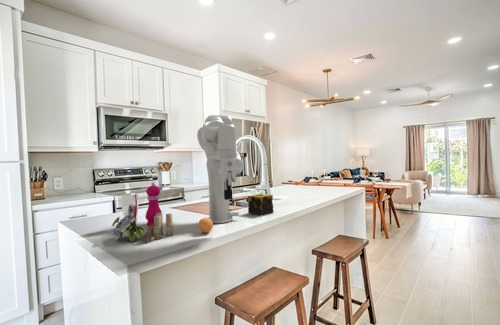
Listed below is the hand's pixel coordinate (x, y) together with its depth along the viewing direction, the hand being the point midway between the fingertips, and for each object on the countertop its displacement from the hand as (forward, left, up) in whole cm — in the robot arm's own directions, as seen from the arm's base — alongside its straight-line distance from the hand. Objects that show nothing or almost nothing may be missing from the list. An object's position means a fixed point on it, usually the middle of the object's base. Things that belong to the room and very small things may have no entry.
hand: (228, 199), depth 108 cm
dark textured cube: (-22, -31, -14) cm, 41 cm away
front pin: (+24, -1, -13) cm, 27 cm away
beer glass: (+42, -20, -13) cm, 48 cm away
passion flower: (+38, -1, -13) cm, 40 cm away
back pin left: (+28, +2, -13) cm, 31 cm away
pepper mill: (+32, -20, -13) cm, 40 cm away
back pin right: (+28, -4, -13) cm, 31 cm away
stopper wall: (+31, -1, -13) cm, 34 cm away
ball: (+10, -1, -10) cm, 14 cm away
